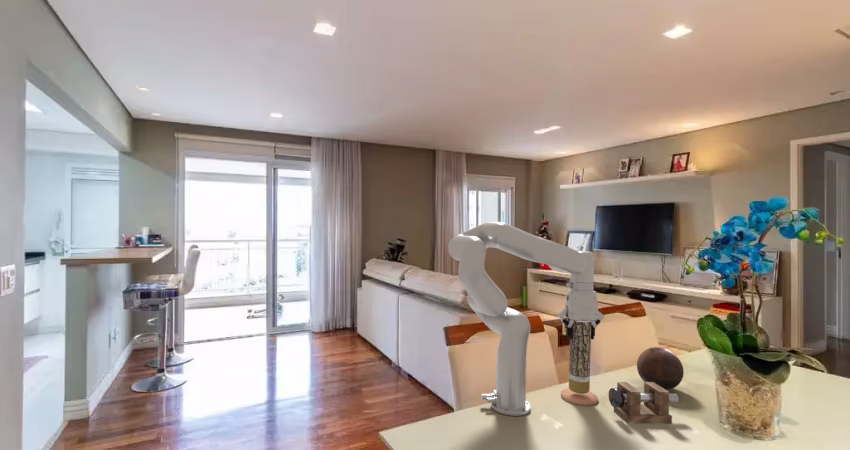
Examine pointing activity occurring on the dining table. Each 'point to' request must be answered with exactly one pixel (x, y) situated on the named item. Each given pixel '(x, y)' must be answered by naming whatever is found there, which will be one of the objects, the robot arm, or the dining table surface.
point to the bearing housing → (649, 410)
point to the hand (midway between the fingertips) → (580, 337)
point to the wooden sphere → (660, 367)
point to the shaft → (619, 398)
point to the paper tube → (580, 357)
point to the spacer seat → (579, 397)
